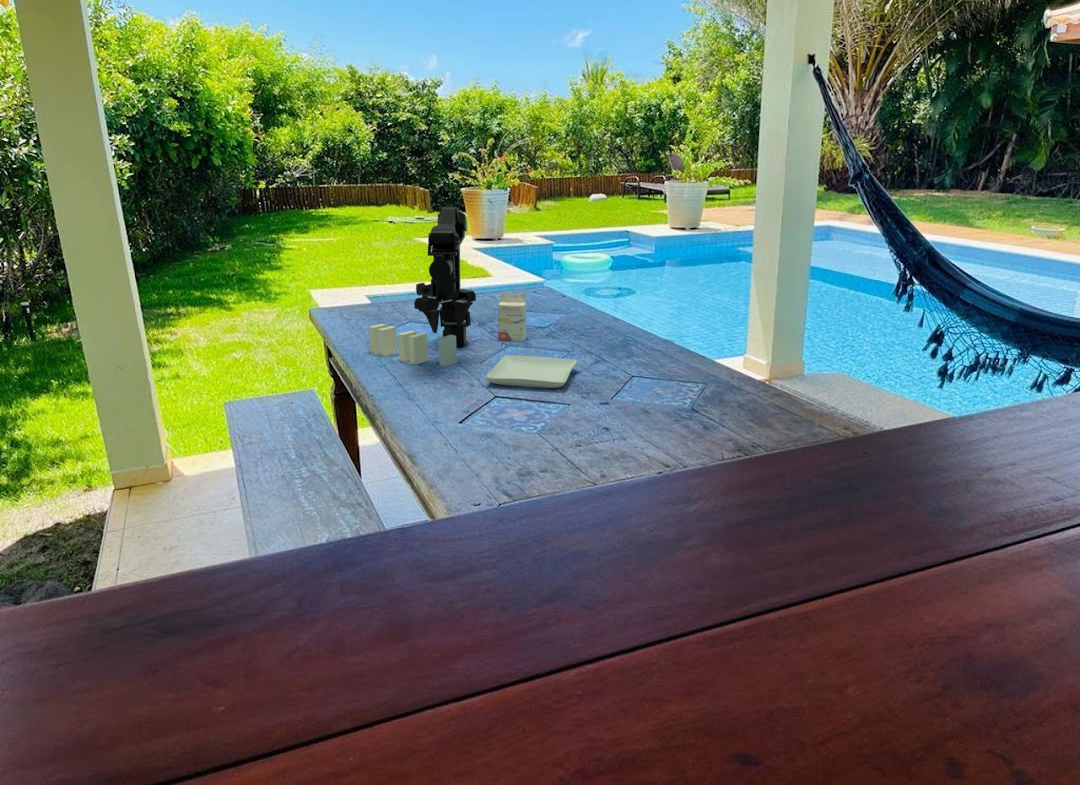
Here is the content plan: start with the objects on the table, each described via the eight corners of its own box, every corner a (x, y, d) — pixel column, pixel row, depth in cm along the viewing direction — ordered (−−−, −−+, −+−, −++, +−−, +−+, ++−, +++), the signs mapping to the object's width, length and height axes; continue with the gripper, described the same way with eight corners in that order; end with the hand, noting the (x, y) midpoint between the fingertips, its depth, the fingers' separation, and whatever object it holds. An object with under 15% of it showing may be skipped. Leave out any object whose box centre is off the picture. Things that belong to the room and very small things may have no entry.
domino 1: (370, 352, 232) (368, 326, 229) (383, 349, 235) (381, 323, 233) (374, 353, 230) (372, 327, 228) (387, 350, 234) (386, 324, 231)
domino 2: (379, 355, 229) (378, 329, 226) (393, 351, 232) (391, 326, 230) (384, 356, 228) (382, 330, 225) (397, 353, 231) (395, 327, 229)
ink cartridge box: (498, 340, 245) (497, 295, 240) (500, 337, 250) (499, 292, 245) (524, 341, 244) (524, 295, 239) (526, 337, 249) (526, 292, 244)
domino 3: (399, 360, 223) (398, 333, 221) (412, 357, 227) (411, 330, 224) (404, 361, 222) (402, 335, 220) (417, 358, 226) (416, 331, 223)
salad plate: (565, 393, 195) (565, 381, 194) (484, 388, 199) (484, 376, 198) (578, 370, 215) (578, 358, 214) (504, 366, 219) (504, 354, 218)
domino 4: (410, 363, 221) (408, 336, 218) (423, 359, 224) (421, 333, 222) (414, 364, 219) (413, 337, 217) (427, 360, 223) (426, 334, 220)
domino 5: (439, 365, 219) (438, 338, 216) (452, 361, 222) (451, 334, 220) (444, 366, 217) (443, 339, 215) (457, 362, 221) (456, 335, 219)
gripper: (448, 267, 223) (450, 319, 228) (399, 276, 210) (402, 331, 215) (476, 271, 217) (477, 325, 222) (427, 280, 203) (429, 338, 208)
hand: (446, 329), depth 217 cm, fingers open, 9 cm apart
